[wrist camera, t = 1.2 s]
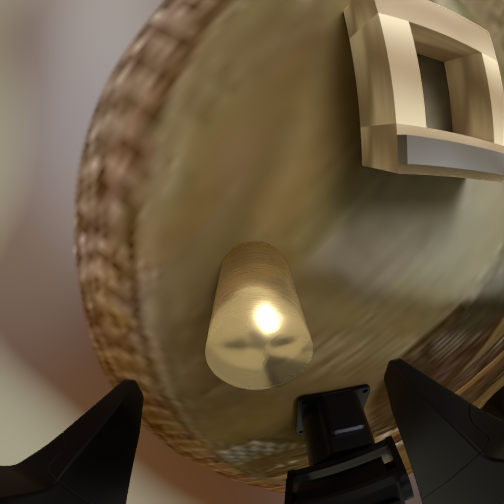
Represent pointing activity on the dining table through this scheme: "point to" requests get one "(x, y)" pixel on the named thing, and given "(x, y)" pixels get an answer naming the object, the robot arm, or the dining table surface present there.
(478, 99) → the jig
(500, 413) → the supplement bottle
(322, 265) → the dining table surface
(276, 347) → the gold metal cylinder
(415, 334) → the dining table surface
